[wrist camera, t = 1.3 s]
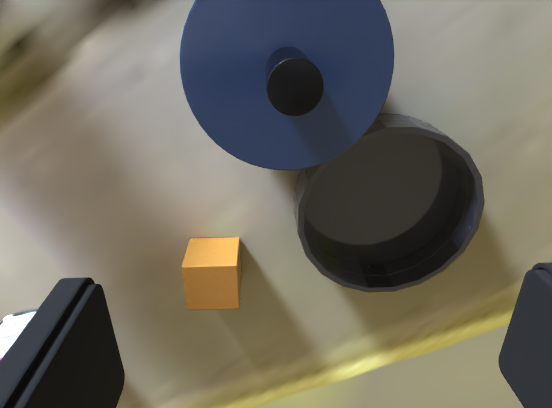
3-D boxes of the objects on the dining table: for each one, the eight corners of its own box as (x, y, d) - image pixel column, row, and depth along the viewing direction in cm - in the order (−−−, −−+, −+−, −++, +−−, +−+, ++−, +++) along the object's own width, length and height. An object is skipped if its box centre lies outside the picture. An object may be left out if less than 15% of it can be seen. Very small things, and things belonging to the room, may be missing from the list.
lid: (170, -52, 19) (136, -75, 14) (400, -54, 20) (454, -76, 14) (194, 165, 24) (175, 211, 19) (377, 162, 25) (410, 206, 19)
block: (189, 238, 36) (180, 267, 32) (239, 236, 36) (236, 265, 32) (194, 278, 38) (186, 310, 34) (241, 277, 38) (239, 308, 34)
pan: (295, 115, 32) (299, 129, 28) (476, 112, 32) (504, 125, 29) (293, 267, 38) (296, 294, 35) (444, 263, 39) (463, 289, 35)
